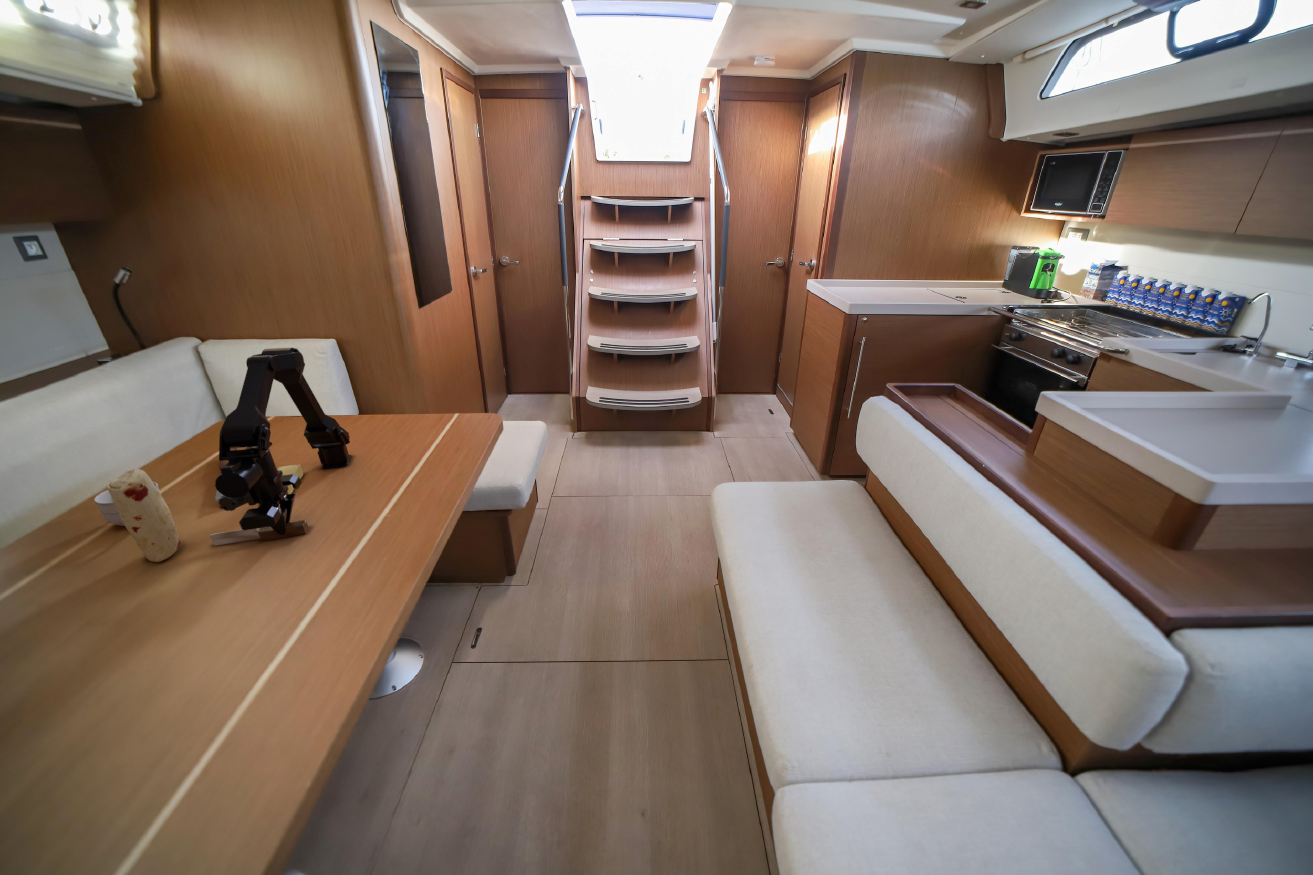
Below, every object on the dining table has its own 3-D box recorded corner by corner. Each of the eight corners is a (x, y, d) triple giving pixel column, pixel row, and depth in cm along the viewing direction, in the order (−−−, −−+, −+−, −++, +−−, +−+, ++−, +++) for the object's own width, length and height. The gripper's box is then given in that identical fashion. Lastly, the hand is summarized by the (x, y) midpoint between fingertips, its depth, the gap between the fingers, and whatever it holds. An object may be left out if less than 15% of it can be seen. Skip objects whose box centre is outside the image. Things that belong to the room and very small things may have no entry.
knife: (309, 528, 119) (305, 517, 118) (305, 534, 117) (302, 523, 116) (216, 542, 114) (211, 531, 113) (212, 548, 112) (206, 537, 111)
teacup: (108, 518, 122) (92, 491, 118) (167, 501, 129) (154, 474, 126) (112, 543, 113) (95, 514, 110) (175, 523, 121) (161, 495, 117)
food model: (179, 560, 108) (138, 481, 100) (139, 570, 106) (92, 490, 97) (190, 536, 116) (152, 461, 107) (153, 545, 113) (110, 468, 104)
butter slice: (294, 489, 135) (290, 478, 133) (289, 496, 132) (285, 485, 130) (272, 491, 133) (268, 481, 132) (267, 499, 130) (263, 488, 129)
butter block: (303, 473, 142) (300, 464, 140) (295, 486, 136) (292, 476, 134) (283, 476, 141) (279, 466, 139) (274, 489, 135) (270, 479, 133)
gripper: (236, 458, 115) (259, 514, 122) (196, 501, 100) (225, 563, 106) (291, 452, 118) (311, 507, 125) (261, 493, 103) (285, 553, 109)
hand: (284, 530), depth 117 cm, fingers closed on knife, 2 cm apart
